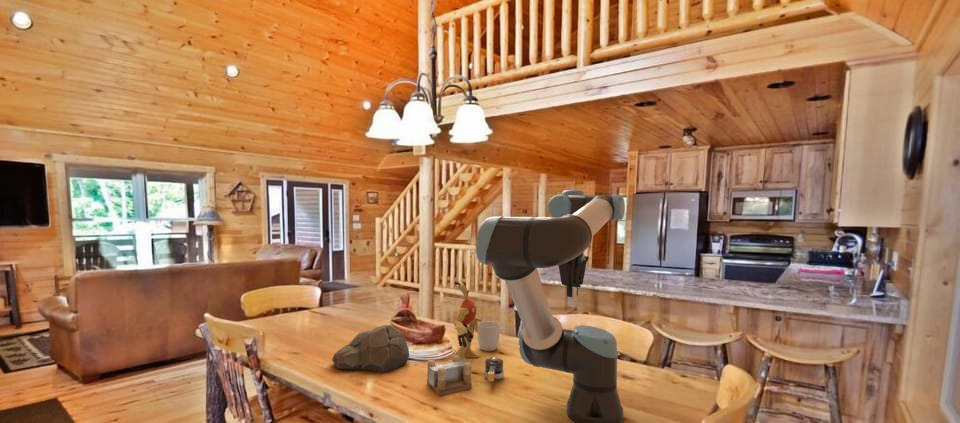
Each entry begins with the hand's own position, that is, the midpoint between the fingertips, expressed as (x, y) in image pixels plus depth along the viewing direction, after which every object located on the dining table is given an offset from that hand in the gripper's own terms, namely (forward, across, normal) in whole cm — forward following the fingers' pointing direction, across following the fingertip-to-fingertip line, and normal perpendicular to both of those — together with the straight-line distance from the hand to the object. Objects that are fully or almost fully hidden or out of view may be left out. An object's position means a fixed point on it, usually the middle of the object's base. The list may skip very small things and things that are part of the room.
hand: (572, 306), depth 141 cm
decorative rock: (+25, +53, -47) cm, 76 cm away
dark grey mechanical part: (+22, +24, -11) cm, 35 cm away
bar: (+23, +39, -15) cm, 47 cm away
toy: (+25, +24, -30) cm, 46 cm away
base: (+24, +22, -14) cm, 36 cm away
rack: (+24, +38, -15) cm, 48 cm away
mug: (+25, +7, -41) cm, 48 cm away
